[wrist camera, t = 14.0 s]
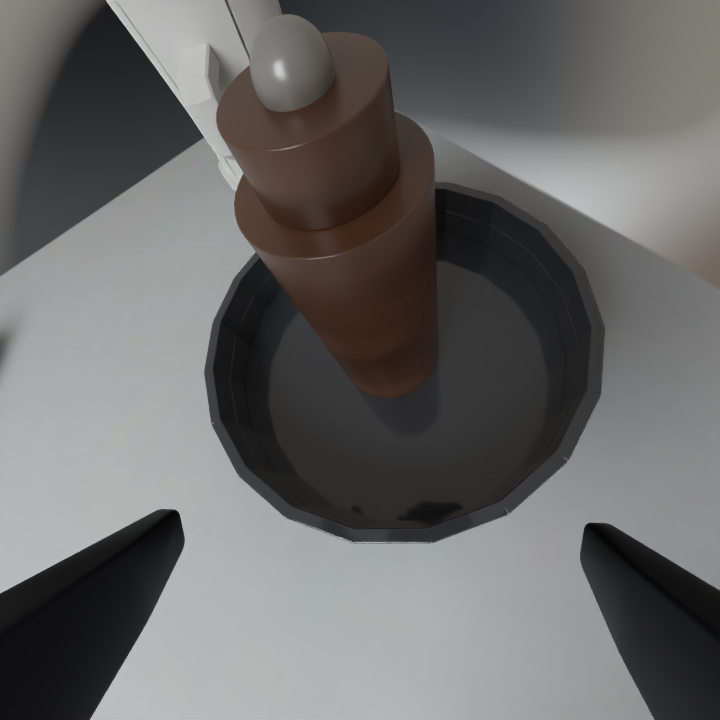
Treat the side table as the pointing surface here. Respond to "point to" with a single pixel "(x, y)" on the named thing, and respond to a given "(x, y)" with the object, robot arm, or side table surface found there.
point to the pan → (426, 404)
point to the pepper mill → (338, 198)
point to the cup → (199, 53)
